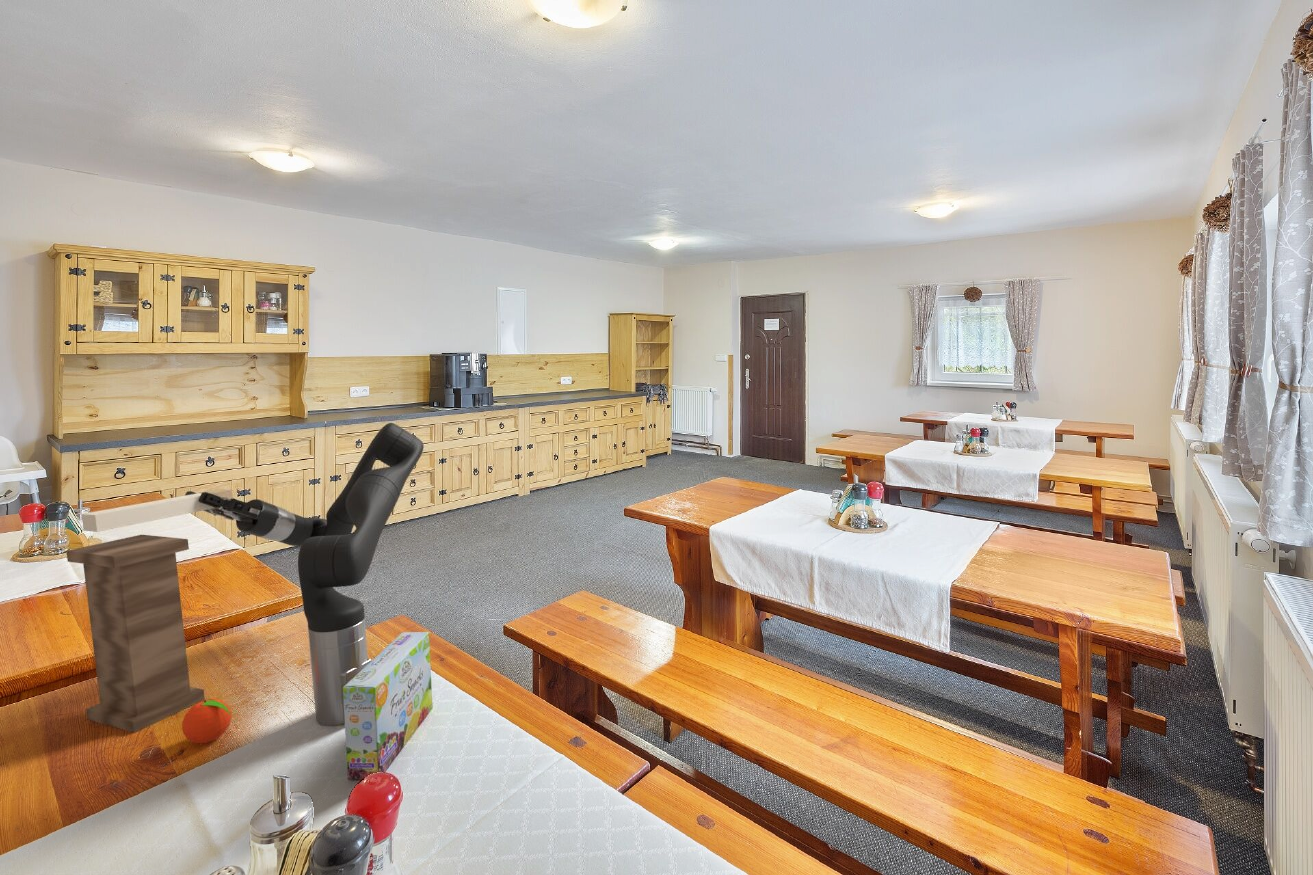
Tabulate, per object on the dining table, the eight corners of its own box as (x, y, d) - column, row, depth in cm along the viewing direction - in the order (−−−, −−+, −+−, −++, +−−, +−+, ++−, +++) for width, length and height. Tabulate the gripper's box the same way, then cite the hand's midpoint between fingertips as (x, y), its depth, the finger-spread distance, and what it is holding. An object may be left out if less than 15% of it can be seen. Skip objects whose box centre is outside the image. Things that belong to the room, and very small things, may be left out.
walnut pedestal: (204, 699, 120) (187, 539, 117) (134, 732, 109) (113, 556, 106) (159, 688, 126) (141, 534, 123) (87, 719, 114) (66, 550, 111)
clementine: (248, 729, 109) (245, 690, 109) (217, 752, 102) (213, 711, 102) (207, 728, 110) (203, 689, 109) (173, 751, 103) (168, 710, 103)
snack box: (382, 781, 94) (375, 686, 92) (346, 782, 94) (338, 687, 92) (435, 707, 115) (430, 629, 113) (405, 708, 115) (400, 630, 114)
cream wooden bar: (233, 504, 131) (232, 489, 130) (97, 532, 108) (95, 514, 108) (220, 503, 132) (218, 489, 132) (83, 531, 110) (81, 513, 109)
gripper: (251, 503, 144) (178, 477, 129) (295, 506, 138) (225, 479, 124) (238, 535, 141) (162, 512, 126) (282, 539, 136) (209, 515, 121)
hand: (194, 496), depth 125 cm, fingers closed on cream wooden bar, 4 cm apart
